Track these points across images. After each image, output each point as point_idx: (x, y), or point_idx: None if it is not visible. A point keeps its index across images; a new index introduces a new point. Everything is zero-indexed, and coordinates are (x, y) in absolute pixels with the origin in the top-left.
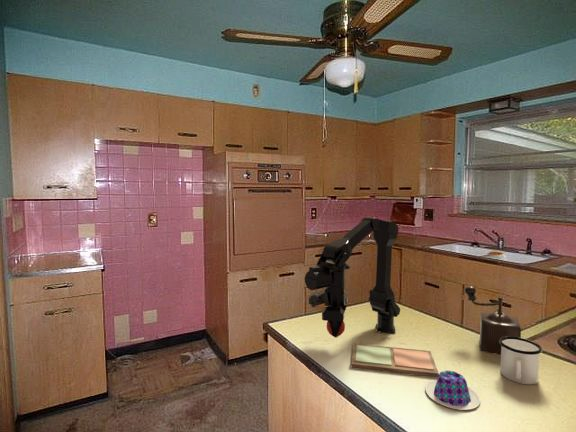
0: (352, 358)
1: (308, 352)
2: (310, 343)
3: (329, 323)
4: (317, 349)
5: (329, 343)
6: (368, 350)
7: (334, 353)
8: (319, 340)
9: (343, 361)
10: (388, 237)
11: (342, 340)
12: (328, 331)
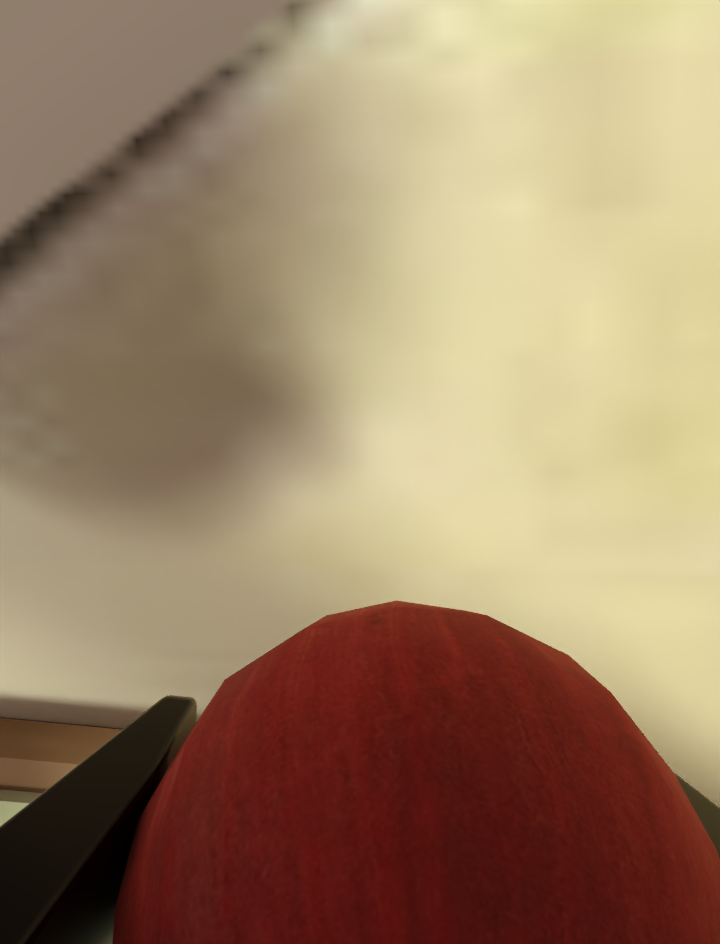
0: (49, 765)
1: (230, 168)
2: (547, 187)
3: (212, 901)
4: (346, 315)
5: (544, 487)
6: None
7: (258, 548)
8: (650, 339)
9: (78, 641)
10: None
11: (630, 649)
12: (302, 630)
